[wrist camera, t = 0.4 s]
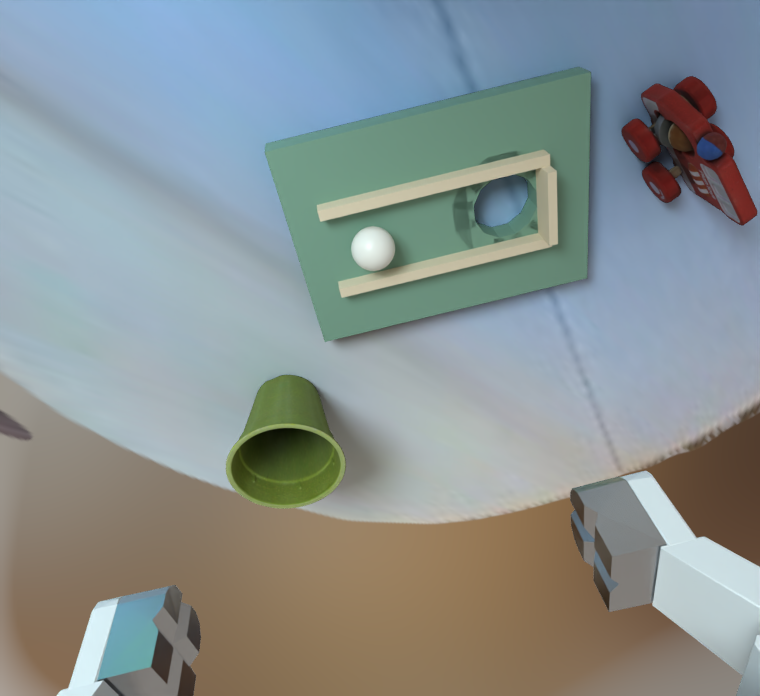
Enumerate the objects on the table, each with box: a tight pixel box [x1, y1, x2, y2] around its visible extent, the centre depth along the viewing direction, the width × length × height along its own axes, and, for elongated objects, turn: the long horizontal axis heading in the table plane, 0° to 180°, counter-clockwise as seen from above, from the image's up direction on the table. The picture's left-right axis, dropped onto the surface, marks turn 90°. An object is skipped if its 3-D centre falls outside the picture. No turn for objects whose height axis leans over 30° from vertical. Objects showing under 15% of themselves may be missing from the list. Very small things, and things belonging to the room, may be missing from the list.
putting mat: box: [265, 67, 591, 342], centre depth 53 cm, size 28×20×6 cm
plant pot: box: [226, 375, 346, 509], centre depth 62 cm, size 12×12×11 cm
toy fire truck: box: [622, 76, 757, 225], centre depth 50 cm, size 7×12×10 cm, turn 39°
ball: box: [351, 226, 395, 271], centre depth 52 cm, size 4×4×4 cm
